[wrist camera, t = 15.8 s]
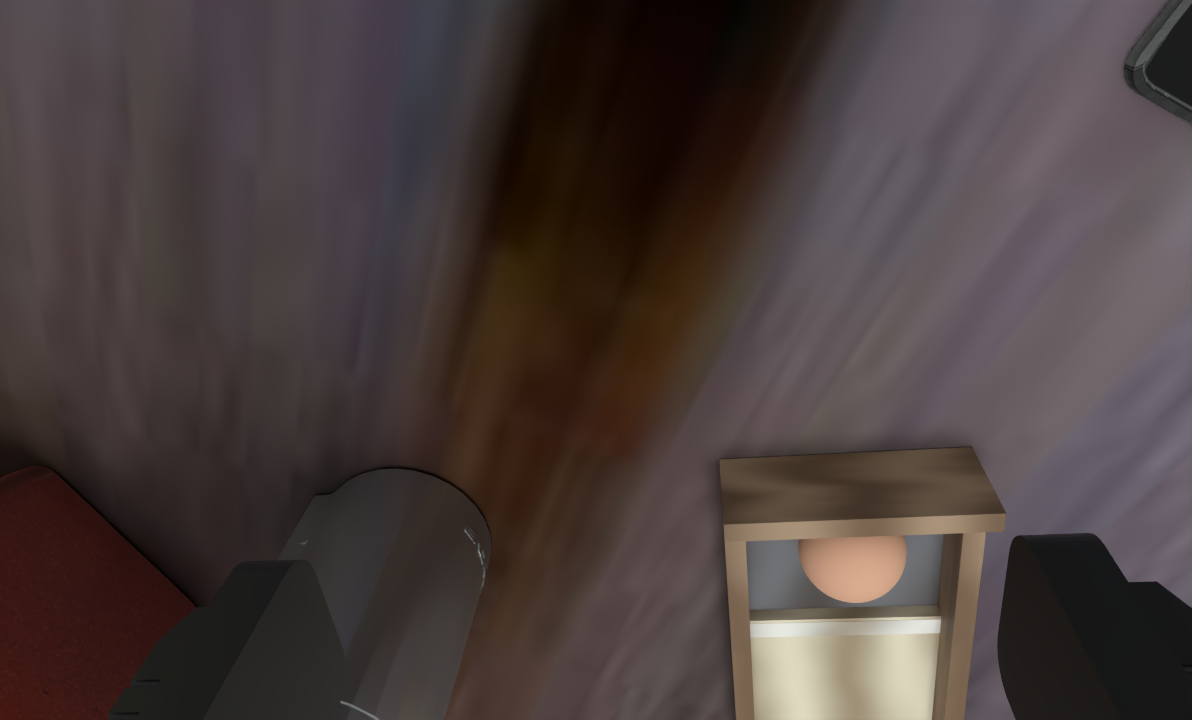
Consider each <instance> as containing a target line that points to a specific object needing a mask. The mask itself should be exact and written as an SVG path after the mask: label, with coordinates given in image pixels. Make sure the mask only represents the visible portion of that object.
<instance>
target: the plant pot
mask: <svg viewBox="0 0 1192 720" xmlns="http://www.w3.org/2000/svg"><path fill="white" fill-rule="evenodd" d="M195 608H196V607H195V605H194V604H193V603H192V602H191V601H190V600H189V599H188V598H187V597H186V596H185V595H184V594H183V593H182V592H181V591H180V590H179V589H177V588H176V587H175V586H174V585H173V584H172V583H171V582H170V581H169V580H168V579H167V578H166V577H165V576H164V575H163V574H162V573H161V572H160V571H158V570H157V569H156V568H155V567H154V566H153V565H152V564H151V563H150V562H149V561H148V560H147V559H146V558H145V557H144V556H142V555H141V554H140V553H139V552H138V551H137V550H136V549H135V548H134V547H133V546H132V545H131V544H130V543H129V542H128V541H126V540H125V539H124V538H123V537H122V536H121V535H120V534H119V533H118V532H117V531H116V530H115V529H114V528H113V527H112V526H111V525H110V524H109V523H108V522H107V521H106V520H105V519H104V518H103V517H101V516H100V515H99V514H98V513H97V512H96V511H95V510H94V509H93V508H92V507H91V506H90V505H89V504H88V503H87V502H85V501H84V500H83V499H82V498H81V497H80V496H79V495H78V494H77V493H76V492H75V491H74V490H73V489H72V488H71V487H70V486H69V485H67V484H66V483H65V482H64V481H63V480H62V479H61V478H60V477H59V476H58V475H57V474H56V473H54V472H53V471H52V470H50V469H48V468H45V467H42V466H31V467H27V468H24V469H21V470H19V471H16V472H13V473H11V474H8V475H5V476H3V477H0V720H108V718H109V713H108V712H109V711H110V710H111V708H112V707H113V705H114V704H115V702H116V701H117V699H118V698H119V696H120V695H121V694H122V692H123V691H124V689H125V688H130V686H131V679H132V678H133V676H134V675H135V673H136V672H137V670H138V669H139V667H140V666H141V665H142V663H143V662H144V660H145V659H146V657H147V656H148V654H149V653H150V651H151V650H152V649H153V647H154V646H155V644H156V643H157V641H158V640H159V639H161V638H162V637H163V636H164V635H165V634H166V633H168V632H169V631H170V630H171V629H172V628H173V627H174V626H176V625H177V624H178V623H179V622H180V621H181V620H183V619H184V618H185V617H186V616H187V615H188V614H190V613H191V612H192V611H193V610H194V609H195Z"/></svg>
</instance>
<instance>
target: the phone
mask: <svg viewBox="0 0 1192 720" xmlns="http://www.w3.org/2000/svg"><path fill="white" fill-rule="evenodd" d="M1124 77H1125V80H1126V82H1127V84H1128V86H1129V87H1130V88H1131V89H1132V90H1133V91H1134V92H1136V93H1138V94H1139V95H1141V96H1143V97H1145V98H1146V99H1148V100H1151V101H1152V102H1153V103H1155V104H1157V105H1158V106H1160V107H1162V108H1164V109H1165V110H1167V111H1169V112H1170V113H1172V114H1174V115H1176V116H1177V117H1179V118H1181V119H1183V120H1184V121H1186V122H1188V123H1189V124H1191V125H1192V0H1170V1H1169V3H1168V4H1167V5H1166V6H1165V8H1164V9H1163V10H1162V12H1161V13H1160V14H1159V15H1158V17H1157V18H1156V19H1155V21H1154V22H1153V23H1152V24H1151V26H1150V27H1149V28H1148V30H1147V31H1146V32H1145V33H1144V35H1143V36H1142V37H1141V39H1140V40H1139V41H1138V42H1137V44H1136V45H1135V46H1134V48H1133V49H1132V51H1131V52H1130V54H1129V56H1128V57H1127V59H1126V63H1125V67H1124Z"/></svg>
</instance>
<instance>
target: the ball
mask: <svg viewBox="0 0 1192 720" xmlns="http://www.w3.org/2000/svg"><path fill="white" fill-rule="evenodd" d="M798 551H799V558H800V561H801V565H802V567H803V569H804V572H805V573H806V575H807V577H808V578H809V579H810V581H811V582H812V583H813V584H814V585H815V586H816V587H817V588H818V589H819V590H820V591H822V592H823V593H825V594H826V595H828V596H830V597H832V598H834V599H836V600H840V601H843V602H849V603H863V602H868V601H872V600H875V599H877V598H879V597H881V596H883V595H885V594H886V593H887V592H889V591H890V590H891V589H892V588H893V587H894V586H895V585H896V583H897V582H898V581H899V579H900V577H901V575H902V573H903V571H904V568H905V564H906V557H907V549H906V542H905V538H904V535H901V536H874V537H847V538H820V539H799V543H798Z"/></svg>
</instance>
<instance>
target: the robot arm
mask: <svg viewBox="0 0 1192 720" xmlns="http://www.w3.org/2000/svg"><path fill="white" fill-rule="evenodd" d="M490 554H491V538H490V533H489V530H488V527H487V524H486V522H485V519H484V518H483V516H482V515H481V513H480V512H479V510H478V509H477V507H476V506H475V505H474V504H473V503H472V502H471V501H470V500H469V499H468V498H467V497H466V496H465V495H464V494H463V493H461V492H460V491H459V490H457V489H456V488H454V487H453V486H452V485H450V484H448V483H446V482H444V481H442V480H440V479H438V478H436V477H434V476H431V475H428V474H424V473H421V472H417V471H413V470H404V469H380V470H375V471H371V472H367V473H363V474H360V475H358V476H356V477H354V478H352V479H351V480H349V481H347V482H346V483H345V484H344V485H342V486H341V487H340V488H339V489H338V490H337V491H335V492H334V493H332V494H328V495H317V496H314V498H313V499H312V501H311V503H310V504H309V506H308V508H307V509H306V511H305V513H304V514H303V516H302V518H301V519H300V521H299V523H298V525H297V526H296V528H295V530H294V531H293V533H292V535H291V536H290V538H289V540H288V541H287V543H286V545H285V546H284V548H283V550H282V551H281V553H280V555H279V556H278V558H277V560H275V561H248V562H242V563H240V564H239V565H237V566H236V567H235V568H234V569H233V570H232V572H231V573H230V575H229V576H228V578H227V579H226V581H225V582H224V584H223V585H222V587H221V588H220V590H219V591H218V593H217V595H216V596H215V598H214V599H213V601H212V602H211V604H210V605H209V607H196V608H195V609H194V610H193V611H192V612H191V613H190V614H188V615H187V616H186V617H185V618H184V619H183V620H181V621H180V622H179V623H178V624H177V625H176V626H174V627H173V628H172V629H171V630H170V631H169V632H168V633H166V634H165V635H164V636H163V637H162V638H161V639H159V640H158V641H157V643H156V644H155V646H154V647H153V649H152V650H151V651H150V653H149V654H148V656H147V657H146V659H145V660H144V662H143V663H142V665H141V666H140V667H139V669H138V670H137V672H136V673H135V675H134V676H133V678H132V679H131V686H130V688H125V689H124V691H123V692H122V694H121V695H120V696H119V698H118V699H117V701H116V702H115V704H114V705H113V707H112V708H111V710H110V711H109V712H108V713H109V718H108V720H445V716H446V713H447V709H448V705H449V702H450V698H451V695H452V691H453V688H454V684H455V681H456V677H457V674H458V670H459V667H460V663H461V659H462V656H463V652H464V649H465V645H466V642H467V638H468V635H469V631H470V628H471V624H472V621H473V617H474V613H475V610H476V606H477V603H478V599H479V596H480V592H481V591H482V588H483V585H484V581H485V577H486V571H487V567H488V564H489V559H490ZM997 647H998V661H999V668H1000V673H1001V678H1002V682H1003V686H1004V690H1005V693H1006V696H1007V699H1008V701H1009V704H1010V706H1011V709H1012V711H1013V714H1014V716H1015V719H1016V720H1192V608H1191V607H1189V606H1188V605H1187V604H1185V603H1184V602H1183V601H1182V600H1180V599H1179V598H1178V597H1176V596H1175V595H1174V594H1172V593H1171V592H1170V591H1168V590H1167V589H1166V588H1164V587H1163V586H1162V585H1161V584H1159V583H1158V582H1128V581H1127V580H1126V578H1125V576H1124V575H1123V573H1122V572H1121V570H1120V569H1119V567H1118V566H1117V564H1116V562H1115V561H1114V559H1113V558H1112V556H1111V555H1110V553H1109V551H1108V550H1107V548H1106V547H1105V545H1104V544H1103V543H1102V541H1101V540H1100V539H1099V538H1098V537H1097V536H1096V535H1094V534H1091V533H1076V534H1049V535H1021V536H1016V537H1015V538H1014V539H1013V541H1012V543H1011V546H1010V551H1009V558H1008V565H1007V572H1006V580H1005V587H1004V594H1003V602H1002V609H1001V616H1000V624H999V631H998V645H997Z"/></svg>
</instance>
